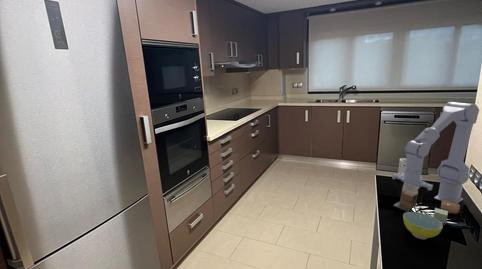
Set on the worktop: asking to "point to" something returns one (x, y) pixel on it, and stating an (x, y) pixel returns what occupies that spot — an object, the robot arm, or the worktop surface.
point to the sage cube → (440, 215)
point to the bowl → (422, 225)
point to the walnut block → (408, 199)
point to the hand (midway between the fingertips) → (408, 199)
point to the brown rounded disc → (450, 206)
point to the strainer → (401, 169)
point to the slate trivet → (401, 207)
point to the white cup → (410, 187)
